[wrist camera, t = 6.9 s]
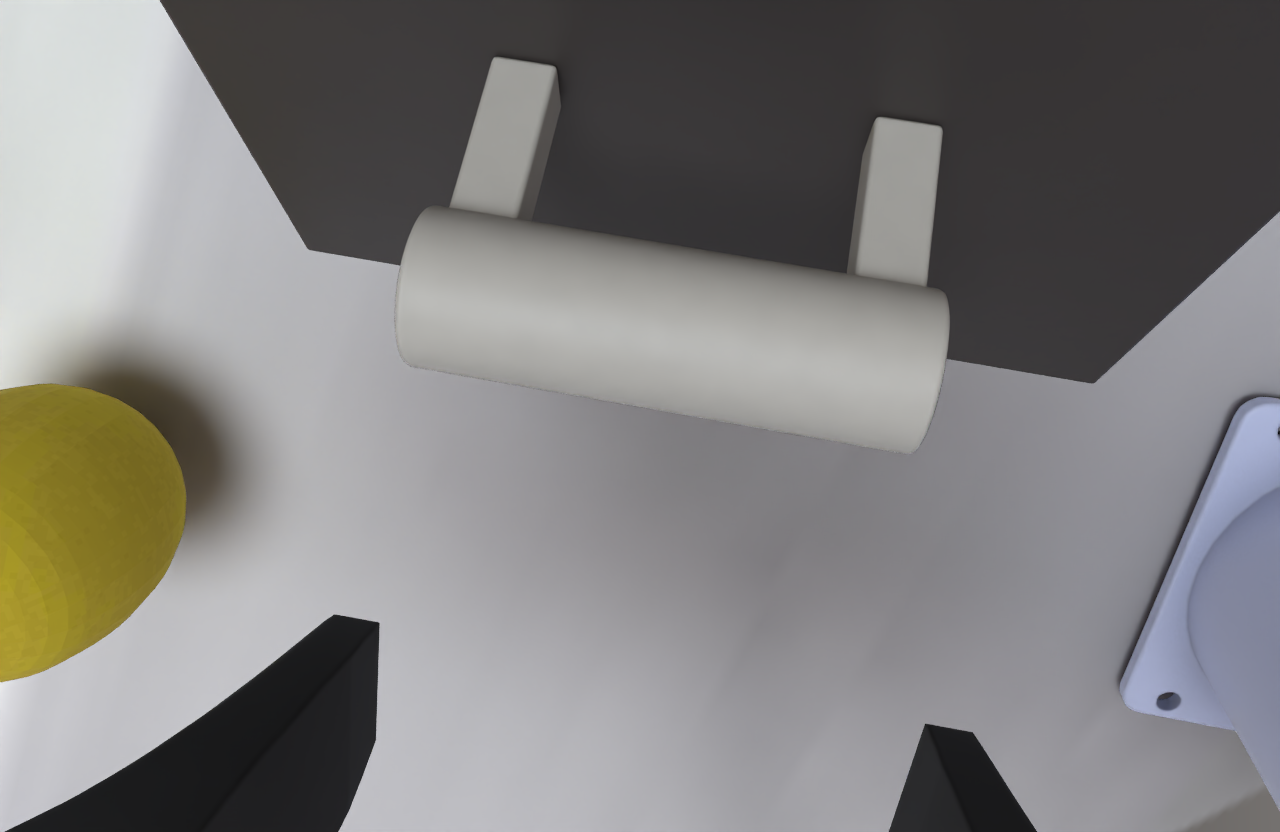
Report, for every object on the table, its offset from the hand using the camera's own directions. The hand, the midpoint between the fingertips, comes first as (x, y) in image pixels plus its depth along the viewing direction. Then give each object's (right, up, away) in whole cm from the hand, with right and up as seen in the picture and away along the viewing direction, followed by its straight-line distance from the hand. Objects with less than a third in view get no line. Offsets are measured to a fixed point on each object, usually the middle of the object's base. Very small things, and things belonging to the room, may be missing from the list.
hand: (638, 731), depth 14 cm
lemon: (-12, +4, +12) cm, 17 cm away
